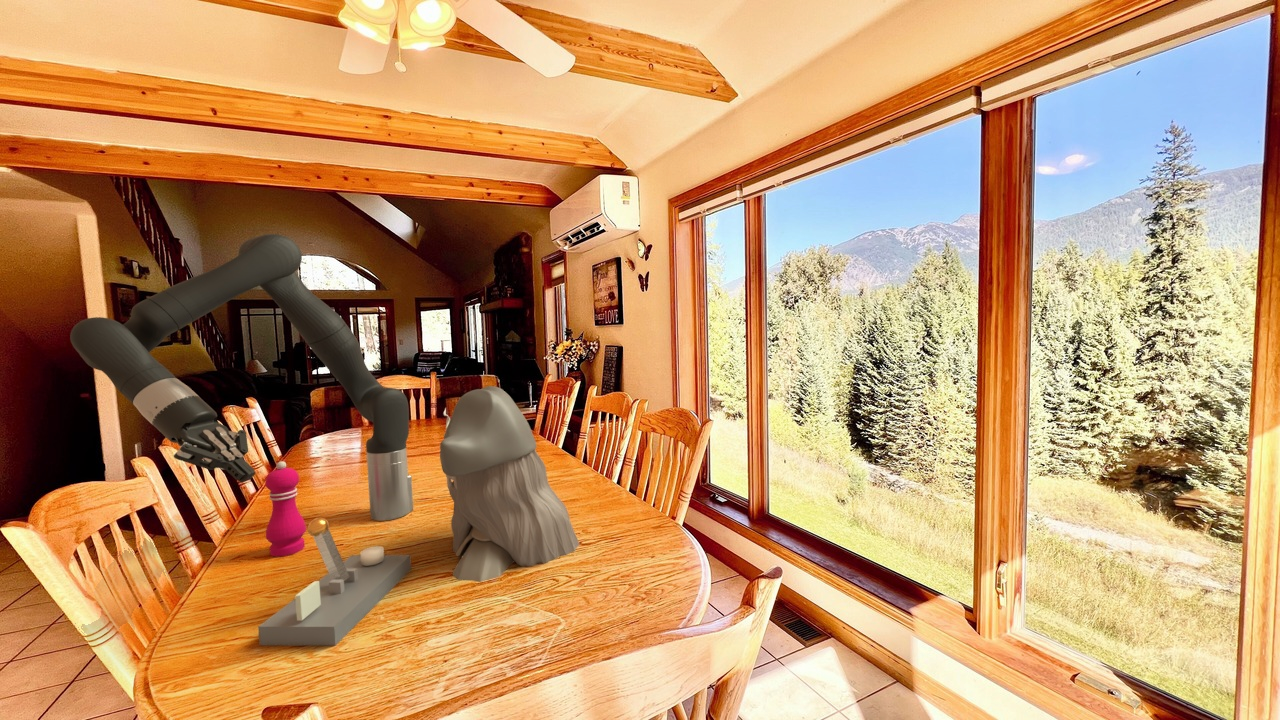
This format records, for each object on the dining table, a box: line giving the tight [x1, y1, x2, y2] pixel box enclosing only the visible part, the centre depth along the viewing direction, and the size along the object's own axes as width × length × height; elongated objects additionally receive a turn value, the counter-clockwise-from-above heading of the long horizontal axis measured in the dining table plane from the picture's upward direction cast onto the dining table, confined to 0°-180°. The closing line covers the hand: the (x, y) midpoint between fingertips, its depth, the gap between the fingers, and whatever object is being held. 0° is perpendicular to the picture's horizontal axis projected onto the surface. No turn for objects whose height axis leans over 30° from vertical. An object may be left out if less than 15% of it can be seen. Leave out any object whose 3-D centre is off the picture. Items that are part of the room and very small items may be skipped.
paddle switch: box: [294, 580, 321, 621], centre depth 81 cm, size 1×4×4 cm, turn 178°
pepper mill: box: [265, 461, 307, 558], centre depth 111 cm, size 7×7×20 cm
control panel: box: [257, 554, 412, 646], centre depth 90 cm, size 12×24×5 cm, turn 178°
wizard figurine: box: [439, 385, 580, 583], centre depth 112 cm, size 34×34×35 cm
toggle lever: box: [307, 517, 349, 581], centre depth 90 cm, size 3×3×12 cm
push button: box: [359, 545, 385, 566], centre depth 99 cm, size 4×4×2 cm
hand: (249, 478), depth 89 cm, fingers closed
